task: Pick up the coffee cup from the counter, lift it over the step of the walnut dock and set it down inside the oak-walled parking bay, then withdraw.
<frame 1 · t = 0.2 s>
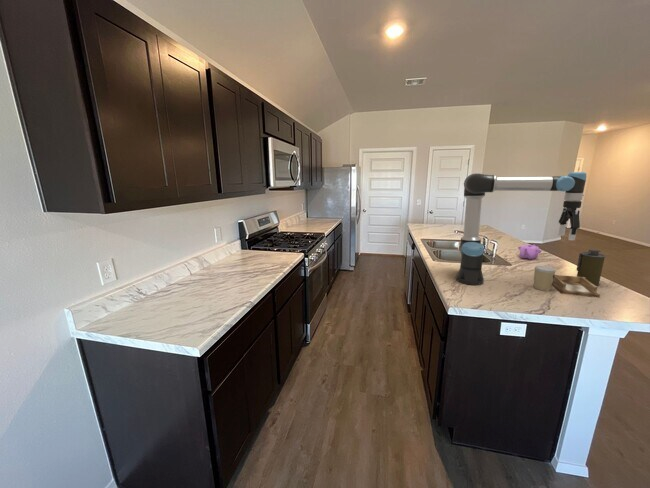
hand: (566, 237, 159), 27 cm above the counter, fingers open, 13 cm apart
canister: (586, 282, 164), on the counter
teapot: (528, 258, 214), on the counter
coffee cup: (541, 288, 158), on the counter
dock: (572, 289, 155), on the counter
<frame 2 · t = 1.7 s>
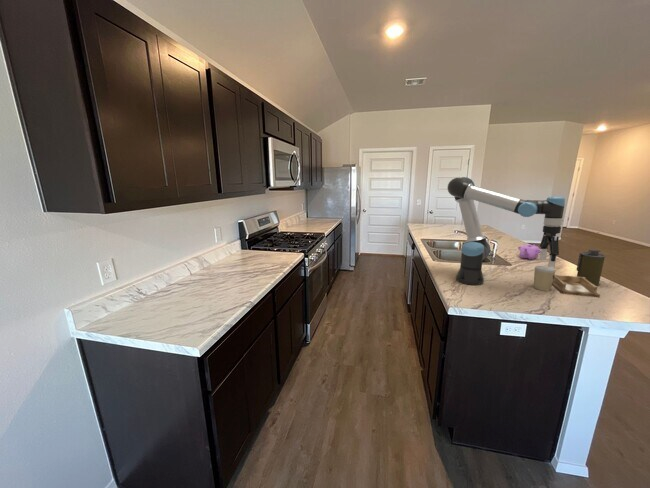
hand: (546, 263, 154), 15 cm above the counter, fingers open, 13 cm apart
nothing on the counter moved.
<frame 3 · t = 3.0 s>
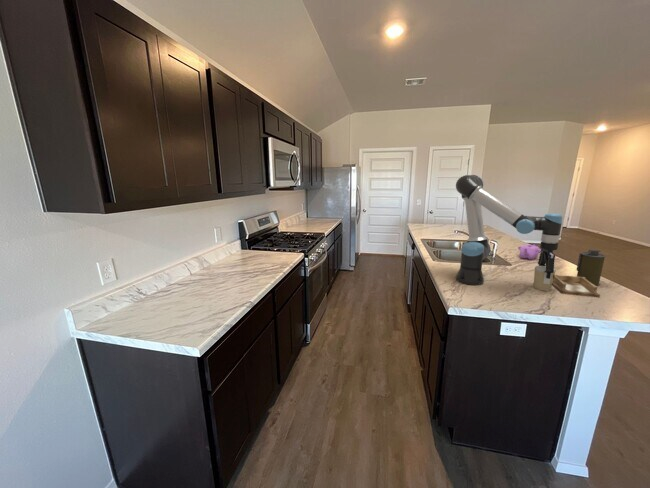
hand: (543, 280, 157), 5 cm above the counter, fingers closed on coffee cup, 9 cm apart
coffee cup: (541, 288, 158), on the counter, touching gripper
everything else where it was.
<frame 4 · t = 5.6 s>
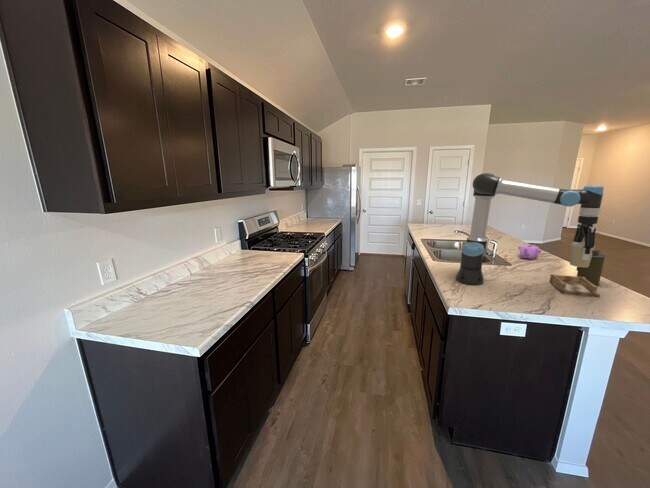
hand: (580, 257, 149), 19 cm above the counter, fingers closed on coffee cup, 9 cm apart
coffee cup: (578, 265, 150), point 15 cm above the counter, touching gripper
everything else where it was.
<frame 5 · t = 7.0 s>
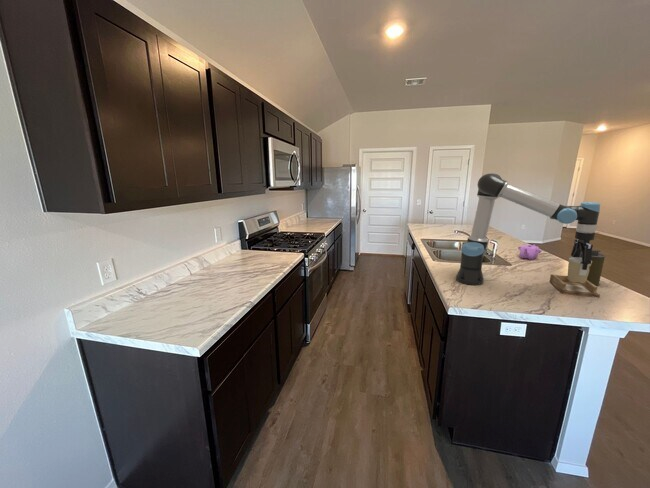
hand: (577, 272, 151), 11 cm above the counter, fingers closed on coffee cup, 9 cm apart
coffee cup: (576, 280, 152), point 6 cm above the counter, touching gripper
everything else where it was.
when the fingers open (7 cm above the counter, at t = 8.3 s): coffee cup stays where it is, resting on dock.
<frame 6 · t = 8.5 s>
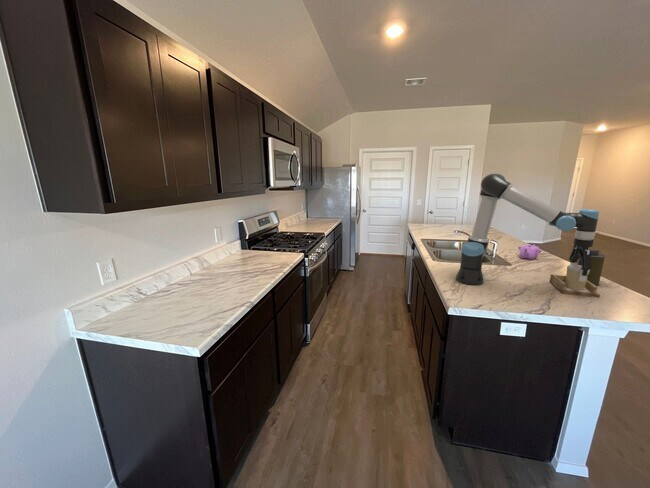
hand: (576, 277, 151), 8 cm above the counter, fingers open, 12 cm apart
coffee cup: (574, 288, 153), point 1 cm above the counter, touching dock
everything else where it was.
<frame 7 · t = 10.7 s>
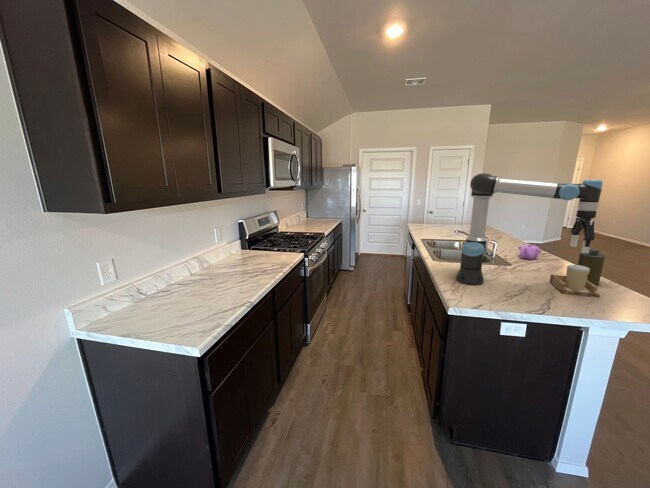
hand: (578, 249, 149), 23 cm above the counter, fingers open, 13 cm apart
nothing on the counter moved.
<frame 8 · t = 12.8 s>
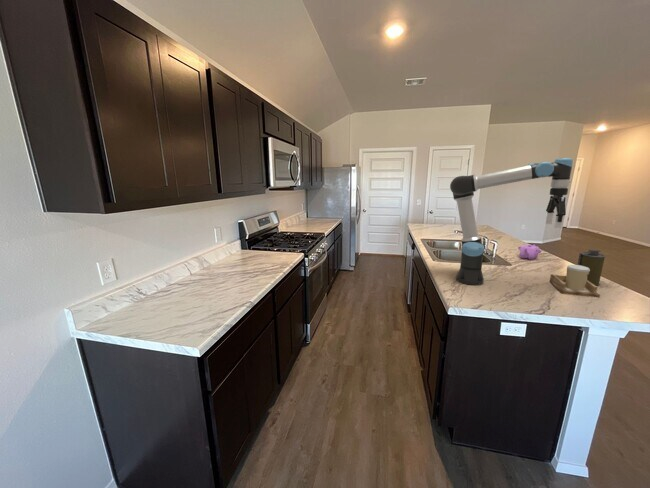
hand: (552, 226, 156), 35 cm above the counter, fingers open, 13 cm apart
nothing on the counter moved.
at the end: coffee cup inside the target area on the dock (0.9 cm from its centre), point 1.4 cm above the dock's base; coffee cup tilted 0°; the gripper is holding nothing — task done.
